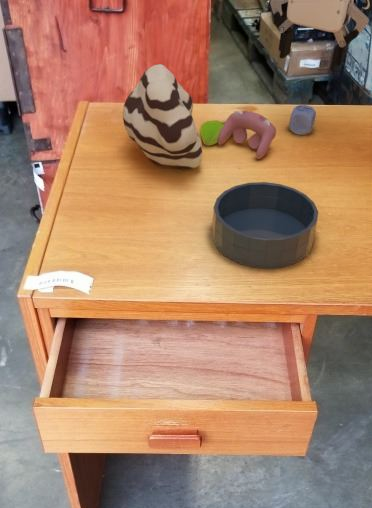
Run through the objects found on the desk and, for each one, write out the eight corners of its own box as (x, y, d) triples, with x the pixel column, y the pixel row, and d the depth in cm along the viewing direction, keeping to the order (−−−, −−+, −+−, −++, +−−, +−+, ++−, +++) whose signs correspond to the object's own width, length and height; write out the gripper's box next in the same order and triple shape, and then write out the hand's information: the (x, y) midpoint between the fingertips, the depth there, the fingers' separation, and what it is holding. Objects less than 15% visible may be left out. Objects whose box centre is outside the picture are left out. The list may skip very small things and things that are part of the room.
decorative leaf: (246, 138, 113) (246, 133, 112) (207, 147, 109) (208, 142, 108) (223, 120, 116) (224, 115, 116) (185, 128, 113) (186, 123, 112)
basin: (327, 228, 93) (333, 200, 89) (287, 281, 84) (292, 252, 80) (240, 200, 98) (243, 172, 94) (194, 247, 89) (195, 218, 85)
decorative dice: (308, 136, 113) (311, 115, 110) (288, 132, 114) (291, 111, 111) (313, 127, 115) (317, 107, 112) (293, 124, 116) (296, 103, 113)
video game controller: (269, 161, 109) (283, 122, 106) (259, 160, 105) (274, 119, 102) (223, 144, 113) (236, 106, 110) (213, 142, 109) (225, 102, 106)
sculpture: (210, 185, 101) (215, 95, 89) (138, 194, 99) (133, 102, 87) (180, 125, 115) (181, 41, 104) (117, 132, 113) (110, 46, 102)
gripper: (391, -51, 92) (362, 66, 105) (288, -69, 97) (274, 44, 110) (375, -39, 87) (348, 81, 100) (269, -59, 93) (256, 58, 106)
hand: (309, 62), depth 105 cm, fingers open, 9 cm apart
